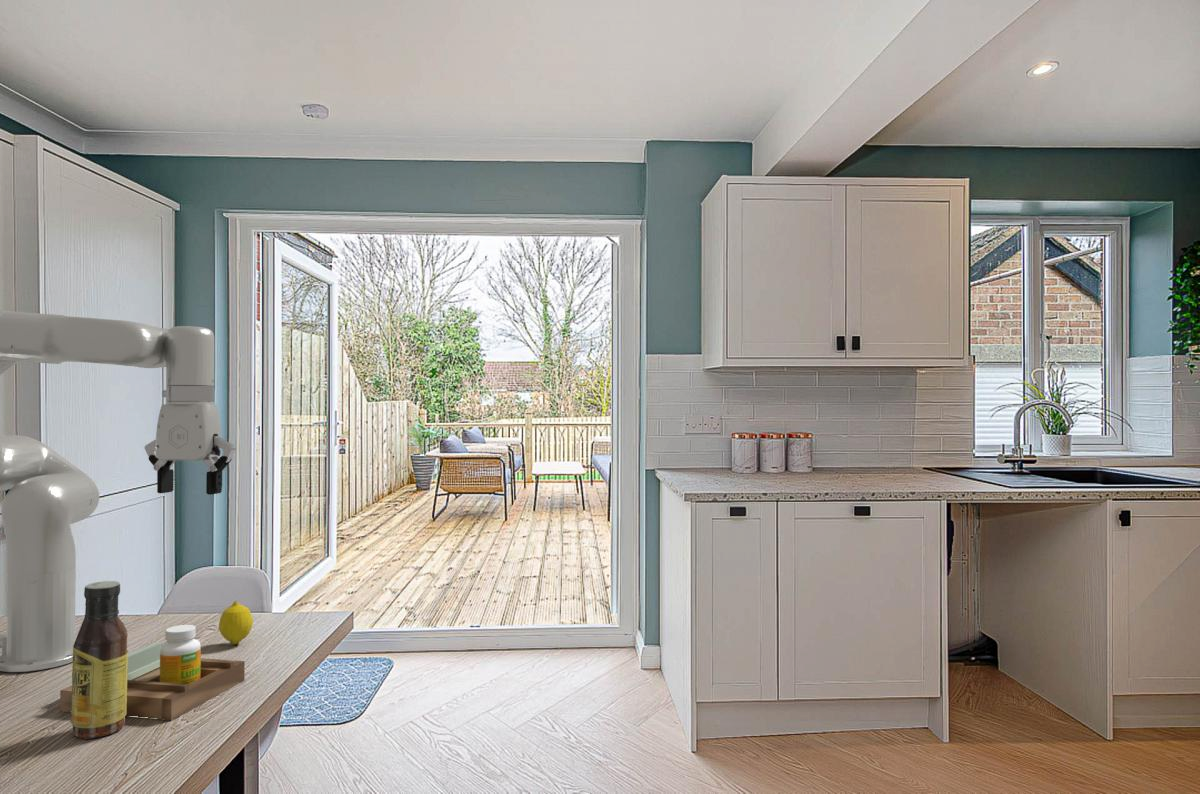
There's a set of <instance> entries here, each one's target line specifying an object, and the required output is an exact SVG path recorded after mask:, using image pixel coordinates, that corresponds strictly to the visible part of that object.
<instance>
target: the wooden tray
mask: <svg viewBox="0 0 1200 794" xmlns="http://www.w3.org/2000/svg"><path fill="white" fill-rule="evenodd" d="M244 681H245V660H232V659H231V660H230V659H216V658H206V657H205V658H202V657H201V675H200V679H199V680H197V681H195V682H193V683H191V684H175V683H162V682H160V667H159V668H156V669H154V670H152V671H150V672H148V673H145V674H143V675H141V676H139V677H137V678H134V679H132V680H127V708H126V716H138V717H148V718H157V719H164V720H163V721H169V720H172V721H174V720H175V719H177V718H179V717H180V715H181V716H182V714H183V715H185V714H186V713H189V712H190V711H192V710H193V709H195V708H198V707H199V706H201V705H202V704H204V703H206V702H208V701H209V700H211V699H213V698H215V697H216V696H218V695H220V694H222V693H224V692H225V691H228V690H229V689H231V688H232V687H235V686H236V685H238V684H240V683H242V682H244ZM59 692H60V694H59V696H60V698H59V701H60V704H59V712H62V711H72V685H70V686H67V687H65V688H63V689H60V691H59ZM178 716H179V717H178ZM176 717H177V718H176ZM157 719H156V720H157ZM173 719H174V720H173Z"/></svg>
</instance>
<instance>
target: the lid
mask: <svg viewBox="0 0 1200 794" xmlns="http://www.w3.org/2000/svg"><path fill="white" fill-rule="evenodd" d="M163 645H164V643H163V642H160V641H158V642H153V643H151V644H148V645H146V646H143V647H140V648H139V649H136V650H134V651H131V652H128V670H127V680H132V679H134V678H137V677H139V676H141V675H143V674H145V673H148V672H150V671H152V670H154V669H156V668H159V667H160V649H161V647H162V646H163Z"/></svg>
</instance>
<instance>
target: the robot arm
mask: <svg viewBox="0 0 1200 794" xmlns="http://www.w3.org/2000/svg"><path fill="white" fill-rule="evenodd" d="M19 362H28V363H38V364H52V365H53V364H54V365H60V364H62V363H64V362H71V363H89V364H91V363H92V364H101V365H112V366H113V365H114V366H115V365H116V366H126V367H135V368H136V367H137V368H141V369H143V368H144V369H156V368H157V369H158V368H159V369H161V368H165V369H166V370H165V371H166V373H165V379H166V380H165V389H163V390H162V392H161V396H162V397H163V398H165V403H164V404H163V403H162V404H161V407H160V410H159V413H158V414H159V415H158V417H157V418H158V419H157V424H156V425H157V426H156V432H155V433H156V434H155V439H154V440H152V441H150V442H149V443H147V444H145V446H144V450H145V452H146V454H147V456H148V461H149V462H150V464H152V466H153V470H154V471H156V472H157V474H156V475H157V476H156V479H157V480H156V481H157V482H156V484H157V485H156V487H157V489H156V490H157V491H156V492H157V494H166V493H167V494H168V493H171V492H173V491H174V487H175V486H174V480H175V479H174V474H175V473H174V469H171V467H172V466H173V465H174V463H175V462H198V461H199V462H200V461H202V462H203V463H204V464H205V465H206V467H207V468H208V470H209V471H206V487H205V489H206V490H205V491H206V494H207V495H208V496H210V495H217V494H221V493H222V491H223V471H226V469H227V466H228V465H229V464H230V463H231V461H232V459H233V458H232V457H234V454H235V452H236V451H237V450H236V449H237V446H236V445H234V444H232V443H231V442H229V441H228V440H226V439H224V438H222V431H221V430H222V428H221V420H220V413H219V409H218V405H217V404H215V402H214V401H215V335H214V332H213V330H211V329H209V328H207V327H202V326H195V325H194V326H192V325H187V326H186V325H180V326H179V325H178V326H173V327H171V328H163V327H157V326H152V325H148V324H145V323H141V322H136V321H130V320H121V319H120V320H119V319H107V318H106V319H105V318H94V317H93V318H92V317H80V316H68V315H63V314H51V313H37V312H27V311H26V312H24V311H14V310H12V311H11V310H3V309H1V310H0V376H1V375H3V374H4V373H5V372H6V371H8V370H10V369H11V368H12V367H14V366H15V365H16V364H18V363H19ZM221 453H222V456H221ZM6 490H7V493H6V494H5V496H4V498H3V500H2V504H1V514H0V515H1V521H2V525H3V530H4V537H5V543H6V573H7V576H6V577H7V578H6V585H7V586H6V587H7V588H6V589H7V590H6V632H2V633H1V634H0V649H1V655H0V672H4V673H5V672H6V673H25V672H35V671H40V670H41V671H42V670H47V669H52V668H57V667H61V666H64V665H67V664H71V663H73V645H74V643H75V640H76V579H77V578H76V574H77V573H76V572H77V569H76V560H77V559H76V558H77V557H76V555H77V554H76V553H77V552H76V546H75V545H76V544H75V540H74V536H73V532H72V529H71V525H72V524H73V525H74V524H75V523H78V522H80V521H81V522H82V521H84V520H85V519H87V518H88V517H90V516H91V515H93V513H94V512H95V510H96V509H97V507H98V505H99V501H100V492H99V488H98V486H97V485H96V483H95V482H94V480H93V479H92V478H91V477H90V476H89V475H87V473H85V472H84V471H83V470H81V469H80V468H78V467H77V466H75V465H74V464H73V463H71V462H70V461H69V460H67V459H66V458H65V457H63V456H62V455H61V454H59V453H58V452H56V451H55V450H53V449H52V448H51V447H50V446H48V445H47V444H45V443H43V442H41V441H40V440H37V439H35V438H33V437H30V436H27V435H18V434H14V435H13V434H12V435H11V434H10V435H9V434H8V435H1V434H0V491H6Z"/></svg>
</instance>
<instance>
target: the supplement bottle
mask: <svg viewBox="0 0 1200 794" xmlns="http://www.w3.org/2000/svg"><path fill="white" fill-rule="evenodd" d="M196 629H197V628H196V626H195V625H192V624H180V625H173V626H170V627H168V628H166V629H165V633H164V634H165V636H164V638H165V641H166V642H165V643H163V646H162V647H161V649H160V682H162V683H175V684H191V683H193V682H195V681H197V680H199V679H200V675H201V658H202V657H201V656H202V655H201V653H202V650H201V649H202V648H201V647H202V646H201V642H200V641H199V640H198V639H195V637H196V633H197V630H196Z"/></svg>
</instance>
